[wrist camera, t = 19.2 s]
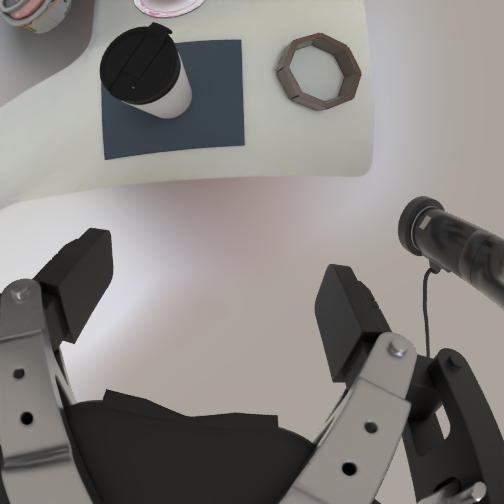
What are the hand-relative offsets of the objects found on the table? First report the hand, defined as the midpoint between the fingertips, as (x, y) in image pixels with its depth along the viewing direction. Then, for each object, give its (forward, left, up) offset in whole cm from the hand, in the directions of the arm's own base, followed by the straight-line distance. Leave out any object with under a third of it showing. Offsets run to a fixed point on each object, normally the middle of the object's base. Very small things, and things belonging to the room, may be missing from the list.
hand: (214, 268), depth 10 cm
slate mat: (+12, 0, -32) cm, 34 cm away
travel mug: (+12, 0, -32) cm, 34 cm away
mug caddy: (+6, -20, -32) cm, 38 cm away
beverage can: (+38, +10, -32) cm, 51 cm away
